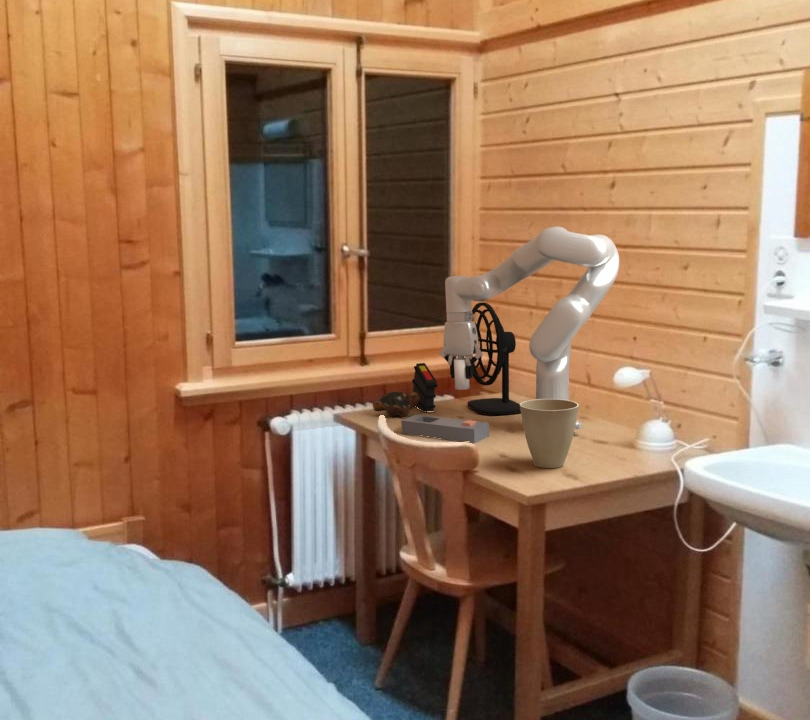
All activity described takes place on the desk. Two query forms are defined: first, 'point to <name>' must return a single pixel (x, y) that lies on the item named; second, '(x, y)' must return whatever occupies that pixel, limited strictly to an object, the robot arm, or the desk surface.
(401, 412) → the decorative turtle
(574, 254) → the robot arm
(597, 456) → the desk surface
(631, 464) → the desk surface
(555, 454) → the plant pot
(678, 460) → the desk surface
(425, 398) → the black blocky piece
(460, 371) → the white bottle
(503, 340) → the desk fan
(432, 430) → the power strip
